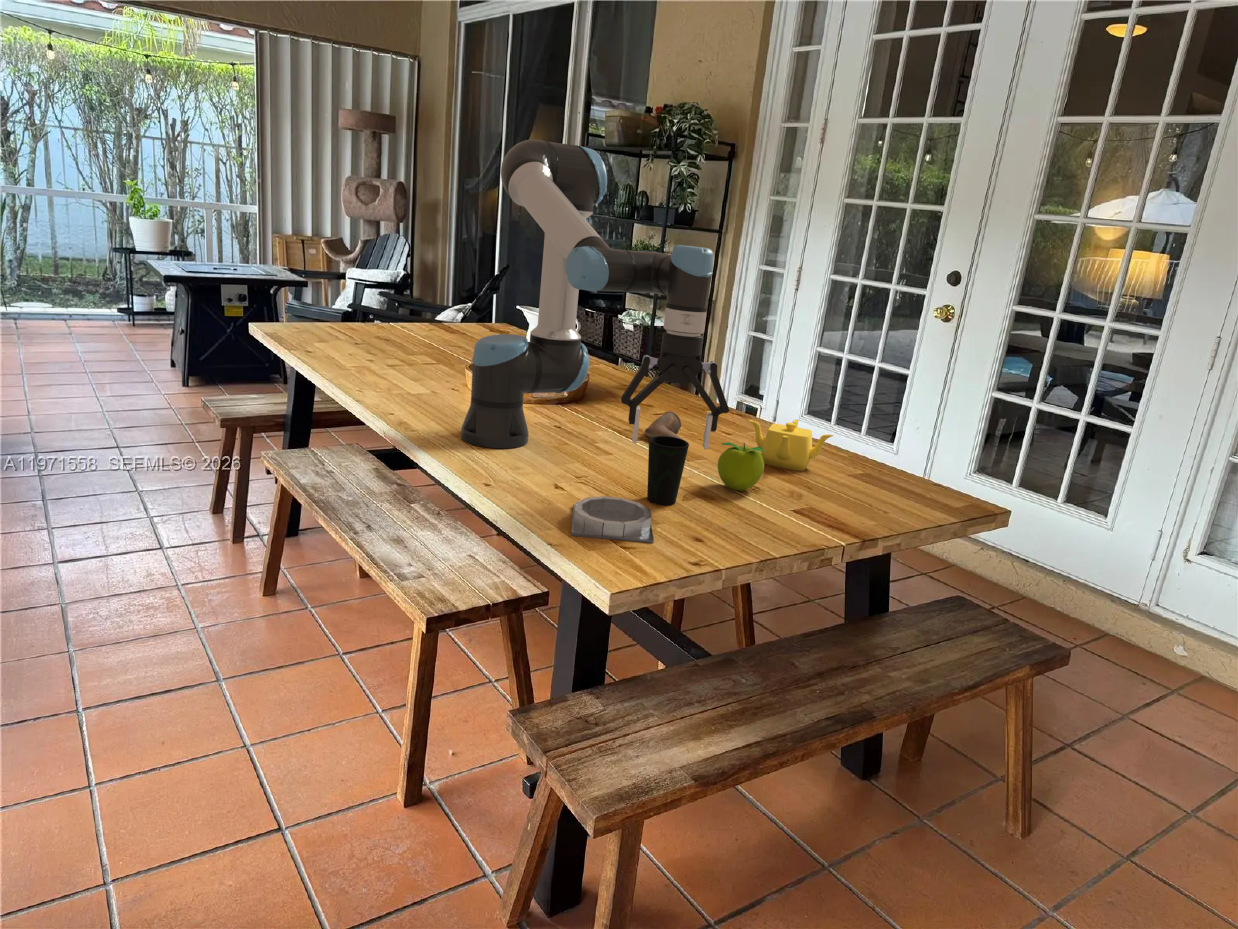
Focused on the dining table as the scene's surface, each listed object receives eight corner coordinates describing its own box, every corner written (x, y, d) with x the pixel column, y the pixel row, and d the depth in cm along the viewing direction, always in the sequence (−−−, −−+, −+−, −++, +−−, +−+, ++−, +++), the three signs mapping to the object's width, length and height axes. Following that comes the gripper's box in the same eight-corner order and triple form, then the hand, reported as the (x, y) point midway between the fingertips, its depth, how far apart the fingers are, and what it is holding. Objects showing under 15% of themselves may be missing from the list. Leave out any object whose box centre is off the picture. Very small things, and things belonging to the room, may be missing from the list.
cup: (639, 492, 167) (647, 434, 163) (677, 495, 168) (685, 437, 164) (644, 506, 160) (651, 445, 156) (683, 509, 160) (692, 448, 157)
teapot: (828, 471, 196) (835, 431, 193) (779, 474, 190) (786, 433, 187) (789, 452, 208) (795, 414, 205) (742, 454, 202) (748, 415, 199)
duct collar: (571, 535, 142) (572, 520, 141) (573, 506, 155) (574, 492, 154) (653, 543, 142) (655, 528, 142) (648, 513, 156) (650, 500, 155)
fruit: (749, 499, 170) (757, 452, 167) (708, 487, 174) (714, 441, 171) (766, 489, 178) (774, 444, 175) (726, 478, 182) (733, 433, 179)
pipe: (673, 434, 195) (708, 425, 199) (635, 415, 208) (668, 407, 213) (673, 459, 197) (708, 450, 202) (635, 439, 210) (668, 431, 215)
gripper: (616, 329, 150) (604, 443, 156) (754, 342, 151) (737, 455, 157) (615, 323, 157) (604, 433, 163) (747, 336, 158) (731, 444, 164)
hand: (669, 444), depth 160 cm, fingers open, 13 cm apart
